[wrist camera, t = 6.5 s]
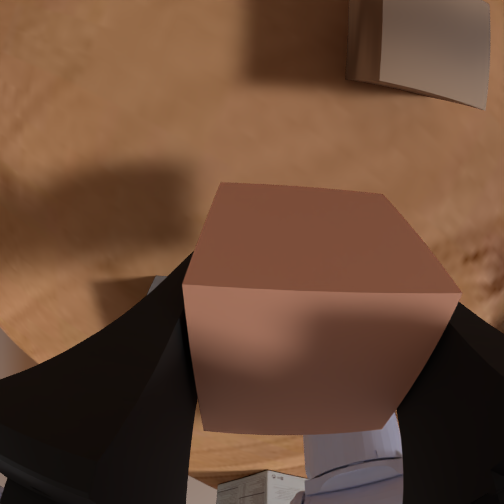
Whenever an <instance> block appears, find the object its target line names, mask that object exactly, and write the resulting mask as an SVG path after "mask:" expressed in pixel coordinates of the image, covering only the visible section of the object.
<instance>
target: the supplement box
mask: <svg viewBox="0 0 504 504" xmlns="http://www.w3.org/2000/svg"><path fill="white" fill-rule="evenodd" d="M305 480H309V479H306V478H301V477H296V476H291V475H287V474H282V473H278V472H274V471H269V470H267V471H264V472H261V473H258V474H255V475H252V476H248V477H245V478H242V479H238V480H235V481H231V482H227V483H224V484H219V485H218V490H217V502H216V504H290V502H291V500H292V499H293V498H294V497H295V495H296V494H297V493H298V492H300V491H305Z"/></svg>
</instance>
